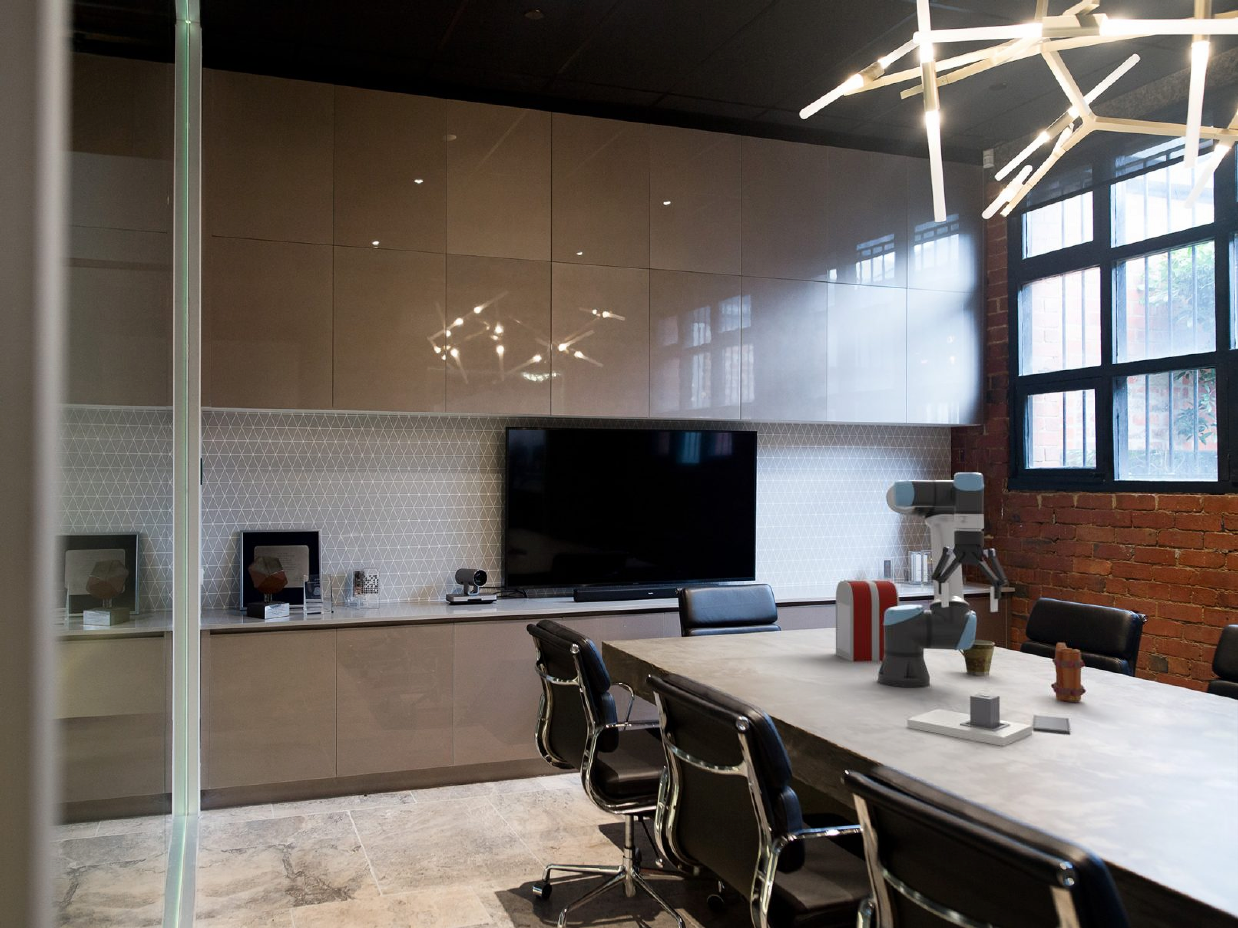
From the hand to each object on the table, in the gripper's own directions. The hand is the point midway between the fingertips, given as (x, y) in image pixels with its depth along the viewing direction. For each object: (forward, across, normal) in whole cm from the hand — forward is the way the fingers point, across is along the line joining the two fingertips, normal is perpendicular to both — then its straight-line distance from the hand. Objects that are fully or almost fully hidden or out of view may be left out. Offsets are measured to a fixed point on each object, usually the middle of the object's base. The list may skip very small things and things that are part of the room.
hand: (969, 609), depth 255 cm
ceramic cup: (+27, -22, +52) cm, 62 cm away
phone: (+27, +22, -2) cm, 35 cm away
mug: (+27, +13, +33) cm, 45 cm away
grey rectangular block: (+27, +14, -22) cm, 37 cm away
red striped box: (+27, -61, +52) cm, 85 cm away
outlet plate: (+27, +10, -22) cm, 36 cm away
